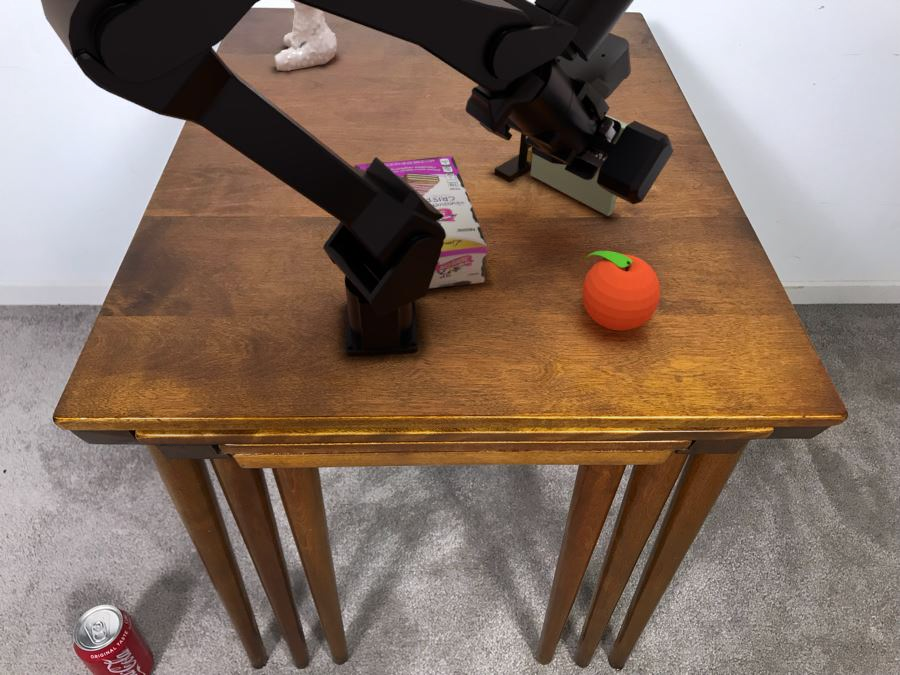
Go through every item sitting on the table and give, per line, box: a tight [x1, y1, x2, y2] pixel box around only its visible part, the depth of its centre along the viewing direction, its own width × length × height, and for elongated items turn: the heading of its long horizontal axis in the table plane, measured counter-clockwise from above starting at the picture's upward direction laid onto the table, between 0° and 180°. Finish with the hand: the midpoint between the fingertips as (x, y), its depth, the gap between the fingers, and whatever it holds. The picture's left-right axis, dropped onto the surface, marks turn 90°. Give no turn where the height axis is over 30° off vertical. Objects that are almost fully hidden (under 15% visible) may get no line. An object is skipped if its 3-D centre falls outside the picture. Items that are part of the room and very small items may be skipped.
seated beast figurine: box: [273, 0, 339, 72], centre depth 100 cm, size 10×9×12 cm
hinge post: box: [494, 133, 533, 183], centre depth 81 cm, size 6×3×12 cm, turn 135°
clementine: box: [581, 250, 661, 331], centre depth 65 cm, size 8×7×7 cm
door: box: [529, 114, 629, 217], centre depth 78 cm, size 1×11×10 cm, turn 45°
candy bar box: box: [354, 155, 488, 289], centre depth 73 cm, size 11×5×16 cm
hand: (597, 163), depth 73 cm, fingers closed
